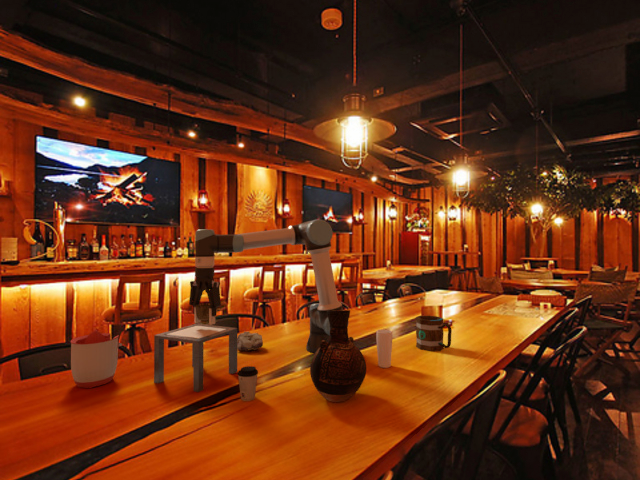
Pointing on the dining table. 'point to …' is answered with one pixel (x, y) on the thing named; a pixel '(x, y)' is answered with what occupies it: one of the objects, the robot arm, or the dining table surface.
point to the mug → (431, 333)
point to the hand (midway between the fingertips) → (204, 323)
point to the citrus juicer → (94, 359)
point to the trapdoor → (196, 332)
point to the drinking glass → (384, 347)
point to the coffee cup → (247, 382)
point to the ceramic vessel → (338, 361)
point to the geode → (249, 341)
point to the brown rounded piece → (203, 313)
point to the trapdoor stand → (194, 353)
